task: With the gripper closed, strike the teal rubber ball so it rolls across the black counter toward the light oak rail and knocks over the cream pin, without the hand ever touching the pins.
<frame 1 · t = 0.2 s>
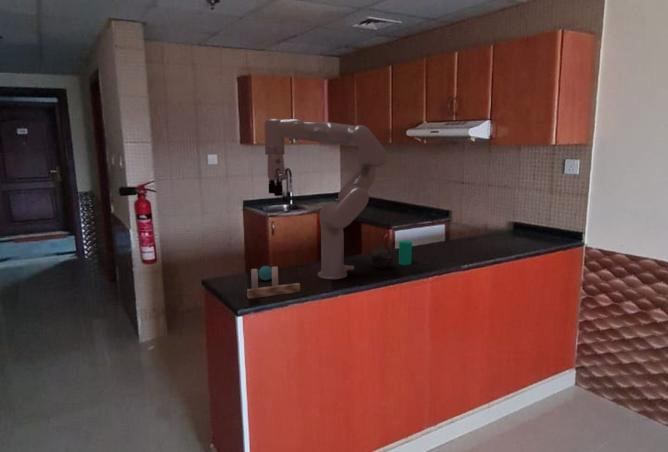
hand: (275, 194, 185), 36 cm above the counter, tool pointing down, fingers open, 9 cm apart
decorative stone: (382, 268, 213), on the counter
cream pin: (275, 289, 181), on the counter
candle: (405, 263, 221), on the counter
oak rail: (274, 294, 175), on the counter
ball: (265, 273, 193), on the counter
grey pin: (255, 292, 178), on the counter
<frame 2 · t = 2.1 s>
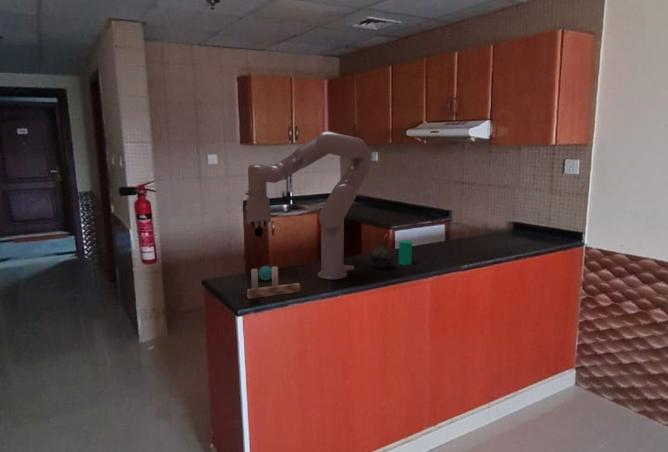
hand: (258, 236, 199), 17 cm above the counter, tool pointing down, fingers closed
nothing on the counter moved.
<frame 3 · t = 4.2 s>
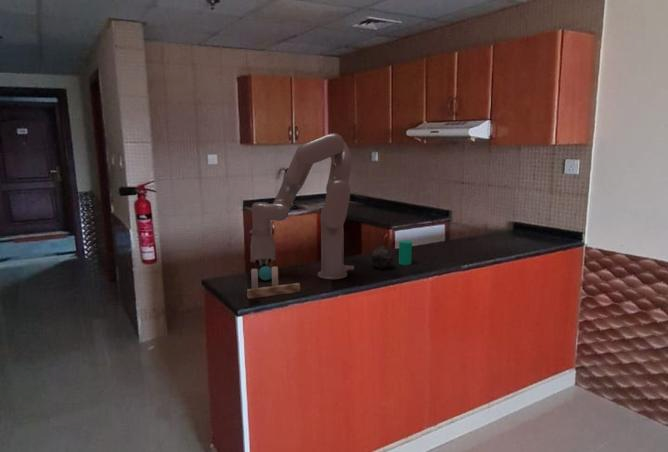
hand: (263, 274, 198), 1 cm above the counter, tool pointing down, fingers closed
ball: (265, 273, 193), on the counter, touching gripper
everything else where it was.
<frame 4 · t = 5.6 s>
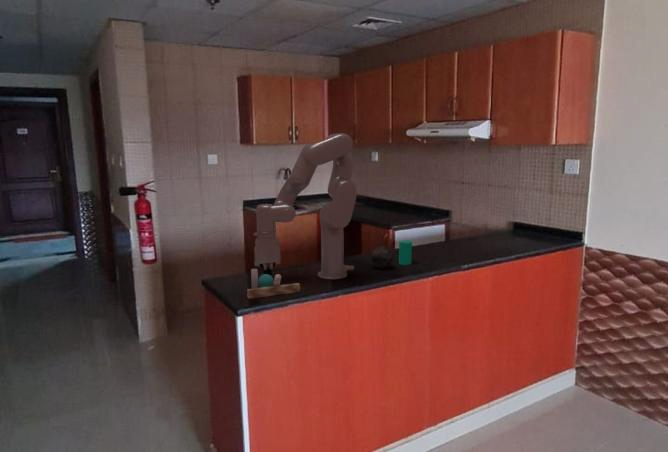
hand: (267, 278, 191), 2 cm above the counter, tool pointing down, fingers closed
cream pin: (275, 287, 180), point 1 cm above the counter, tilted 47°, touching oak rail
ball: (265, 281, 181), on the counter
everything else where it was.
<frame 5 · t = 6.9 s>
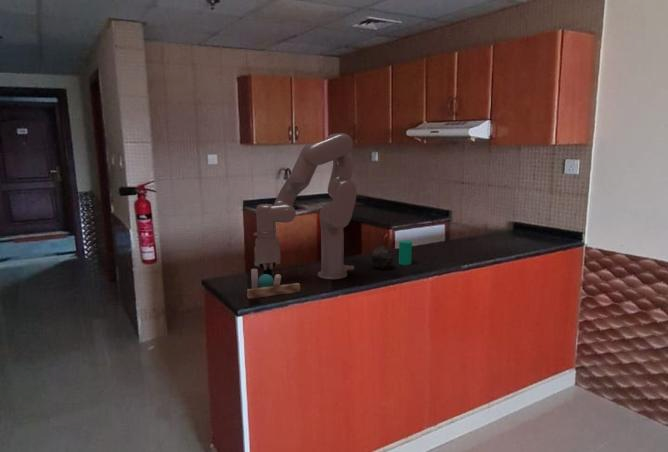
hand: (267, 278, 191), 2 cm above the counter, tool pointing down, fingers closed
nothing on the counter moved.
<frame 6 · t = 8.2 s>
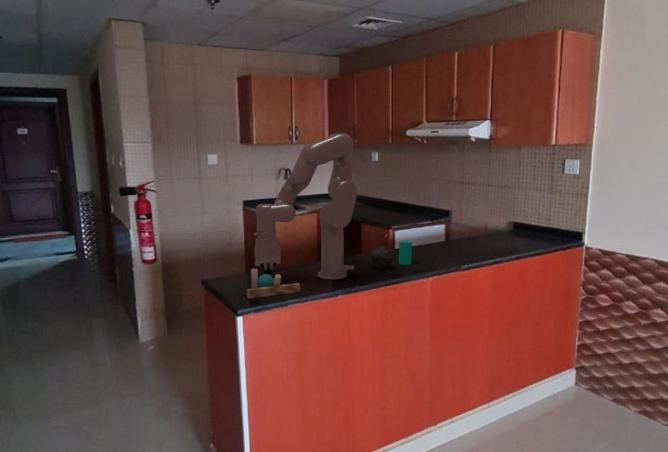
hand: (268, 278, 191), 2 cm above the counter, tool pointing down, fingers closed
nothing on the counter moved.
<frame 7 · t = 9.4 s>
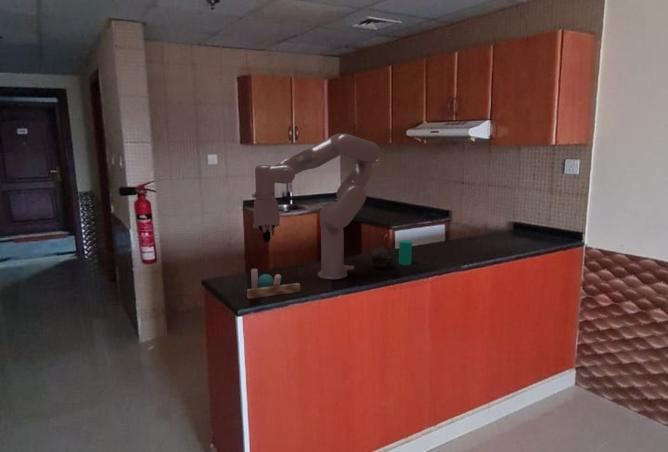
hand: (266, 241, 188), 17 cm above the counter, tool pointing down, fingers closed
nothing on the counter moved.
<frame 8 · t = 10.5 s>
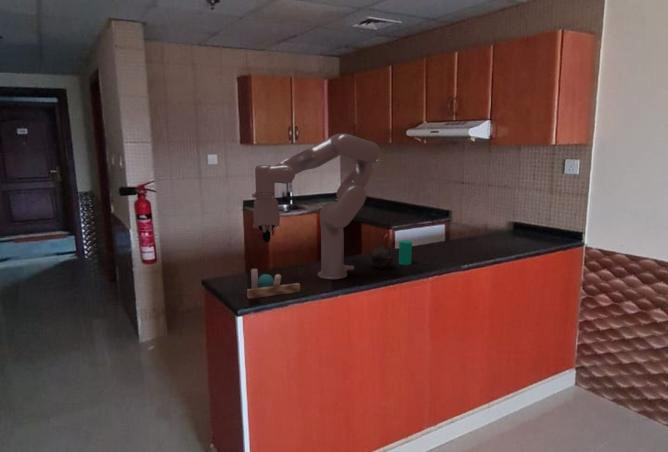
hand: (266, 241, 188), 17 cm above the counter, tool pointing down, fingers closed
nothing on the counter moved.
at the end: cream pin tilted 47°; cream pin never touched the robot; ball moved 12.4 cm from its start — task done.
